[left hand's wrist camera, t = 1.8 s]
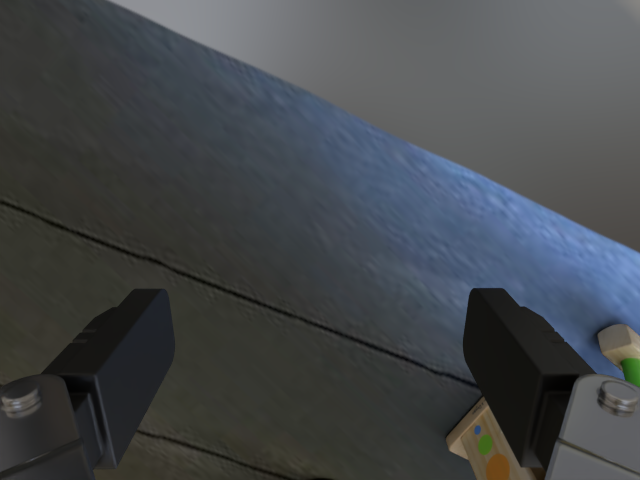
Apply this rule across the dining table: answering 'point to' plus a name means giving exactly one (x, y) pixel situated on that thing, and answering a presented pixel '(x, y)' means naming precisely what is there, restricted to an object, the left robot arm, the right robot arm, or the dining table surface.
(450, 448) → the pounding bench toy
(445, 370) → the dining table surface
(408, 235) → the dining table surface
